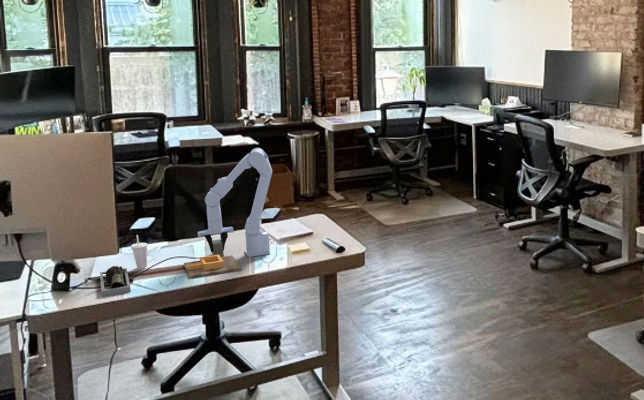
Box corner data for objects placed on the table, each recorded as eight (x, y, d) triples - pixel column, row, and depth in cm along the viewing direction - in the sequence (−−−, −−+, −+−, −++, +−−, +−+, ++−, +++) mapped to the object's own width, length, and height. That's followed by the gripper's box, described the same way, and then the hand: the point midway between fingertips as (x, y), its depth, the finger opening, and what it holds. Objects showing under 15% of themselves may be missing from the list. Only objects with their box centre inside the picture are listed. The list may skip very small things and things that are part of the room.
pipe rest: (127, 273, 252) (126, 268, 251) (130, 291, 233) (130, 286, 232) (100, 277, 249) (99, 272, 248) (102, 296, 229) (101, 291, 229)
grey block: (221, 252, 271) (220, 239, 269) (223, 256, 266) (222, 242, 265) (211, 254, 270) (210, 240, 268) (214, 257, 265) (212, 244, 264)
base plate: (232, 257, 264) (232, 255, 264) (241, 270, 249) (241, 267, 249) (183, 265, 258) (183, 263, 257) (190, 278, 243) (189, 276, 243)
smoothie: (130, 269, 255) (126, 236, 252) (140, 264, 261) (136, 231, 258) (144, 271, 253) (139, 237, 250) (153, 265, 259) (149, 232, 255)
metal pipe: (125, 291, 234) (123, 277, 232) (106, 294, 232) (104, 280, 230) (125, 275, 250) (123, 261, 249) (107, 277, 248) (105, 264, 247)
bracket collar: (219, 260, 259) (219, 254, 258) (223, 267, 251) (223, 261, 250) (186, 265, 254) (185, 259, 254) (189, 272, 246) (189, 266, 246)
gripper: (229, 215, 270) (232, 245, 273) (195, 219, 265) (198, 250, 269) (233, 219, 264) (236, 250, 267) (198, 224, 259) (201, 255, 262)
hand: (217, 250), depth 267 cm, fingers closed on grey block, 4 cm apart
